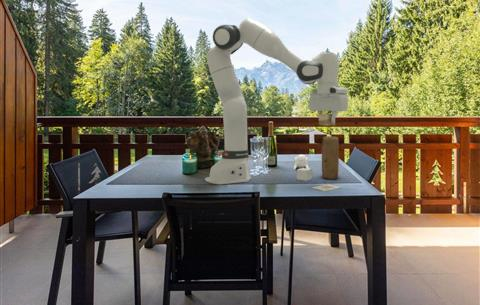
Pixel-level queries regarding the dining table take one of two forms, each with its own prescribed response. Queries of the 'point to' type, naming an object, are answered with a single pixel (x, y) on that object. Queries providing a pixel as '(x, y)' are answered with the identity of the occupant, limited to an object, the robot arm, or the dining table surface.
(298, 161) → the white figurine
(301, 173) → the grey cube
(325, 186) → the card
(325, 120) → the oak cube
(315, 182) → the dining table surface
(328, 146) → the block
